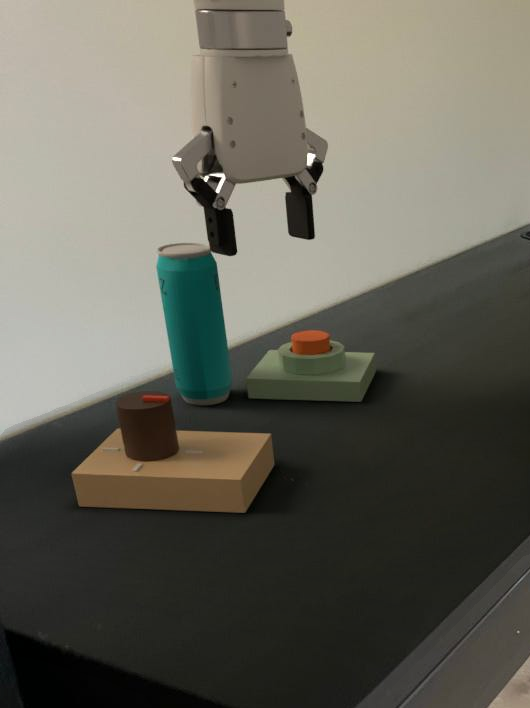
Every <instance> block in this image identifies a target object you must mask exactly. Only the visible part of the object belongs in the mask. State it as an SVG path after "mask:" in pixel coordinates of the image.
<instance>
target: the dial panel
mask: <svg viewBox="0 0 530 708" xmlns="http://www.w3.org/2000/svg"><path fill="white" fill-rule="evenodd" d="M176 432H177V438H178V444H179V451H178V452H177V453H176V454H174V455H173V456H170V457H168V458H165V459H160V460H154V461H138V460H133V459H130V458H128V457H127V456H126V454H125V449H124V444H123V439H122V434H121V429H120V428H116V429H115V430H114V431H113V432H112V433H111V434H110V435H109V436H108V437H107V438H106V439H105V440H104V441H103V442H102V443H101V444H100V445H99V446H98V447H96V449H94V450H93V452H92V453H90V454H89V456H88V457H86V458H85V459H84V460H83V461H82V462H81V464H79V465H78V466H77V467H76V468H75V469H74V470H73V471H72V472H71V479H72V482H73V487H74V490H75V494H76V495H75V496H76V499H77V504H78V507H83V508H105V509H106V508H107V509H130V510H131V509H133V510H158V511H159V510H160V511H161V510H162V511H181V512H182V511H185V512H212V513H215V512H216V513H238V514H244V513H247V511H248V509H249V507H250V506H251V504H252V503H253V501H254V499H255V498H256V496H257V494H258V493H259V491H260V490H261V488H262V486H263V485H264V483H265V482H266V480H267V478H268V477H269V474H270V473H271V472H272V470H273V469H274V467H275V457H274V447H273V439H272V433H264V432H263V433H261V432H233V431H232V432H231V431H229V432H228V431H203V430H202V431H199V430H176Z"/></svg>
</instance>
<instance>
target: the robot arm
mask: <svg viewBox="0 0 530 708" xmlns="http://www.w3.org/2000/svg"><path fill="white" fill-rule="evenodd" d="M193 5H194V9H195V10H194V13H195V21H196V30H197V39H198V46H199V54H193V55H192V60H191V68H190V90H189V91H190V92H189V95H190V119H191V122H190V123H191V135H192V136H191V137H192V139H191V140H190V141H189V142H188V143H187V144H185V145H184V146H183V147H182V148H181V149H180V150H178V151H177V152H176V154H174V155H173V157H172V158H171V162H172V165H173V167H174V169H175V171H176V172H177V174H178V176H179V178H180V180H181V181H183V187H184V189H185V190H186V191H187V192H188V193H189V194H190V195H191V196H192V197H193V198H194V199H195V201H196V204H197V205H198V206H199V207H202V208H203V214H204V220H205V229H206V230H205V231H206V236H207V242H208V245H209V246H210V250H211V253H212V254H213V253H214V254H218V255H223V256H227V257H233V256H234V257H235V256H236V255H237V254H238V245H237V237H236V228H235V227H236V226H235V220H234V212H233V210H232V208H228V207H227V205H228V203H229V200H230V198H231V196H232V194H233V191H234V189H235V187H236V185H241V184H242V185H243V184H250V183H258V182H264V181H271V180H278V179H282V181H283V182H284V184H285V185H286V187H288V190H289V191H286V192H285V195H284V200H285V211H286V213H285V214H286V223H287V232H288V235H289V236H290V237H291V238H297V239H302V240H307V241H312V240H315V237H316V232H315V229H316V228H315V216H314V204H313V196H314V195H316V194H317V191H318V185H317V184H318V182H319V181H320V179H321V177H322V176H323V173H324V165H323V164H324V163H325V160H326V156H327V152H328V148H329V143H328V141H327V140H326V139H324V138H323V137H321V136H320V135H318V134H317V133H316V132H314V131H312V130H310V129H309V128H308V127H307V124H306V118H305V111H304V109H305V108H304V104H303V97H302V91H301V85H300V82H299V77H298V72H297V67H296V64H295V60H294V57H293V54H292V53H289V44H288V38H290V37H291V36H292V34H293V25H292V23H291V21H290V20H288V19H286V11H285V0H193Z"/></svg>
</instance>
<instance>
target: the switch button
mask: <svg viewBox="0 0 530 708" xmlns="http://www.w3.org/2000/svg"><path fill="white" fill-rule="evenodd" d="M290 338H291V342H292V350H293V353H295V354H300V355H317V354H324V353H327V352H330V340H331V339H330V334H329V333H328V332H326V331H322V330H301V331H297V332H295V333H292V334H291V337H290Z"/></svg>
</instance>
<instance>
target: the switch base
mask: <svg viewBox="0 0 530 708" xmlns="http://www.w3.org/2000/svg"><path fill="white" fill-rule="evenodd" d="M376 364H377V363H376V353H375V352H360V351H358V352H357V351H346V347H345V345H344V344H342V343H341V342H339V341H335V340H331V339H330V352H327V353H324V354H317V355H300V354H295V353H293V350H292V341H290V342H287V343H284V344H281V345H280V347H279V348H278V349H269V350H268V351H267V353H266V354H265V355H264V356H263V357H262V358H261V360H260V361H259V362H258V363H257V364H256V365H255V367H254V368H253V369H252V371H251V372H250V373H249V374H248V376H247V377H246V378H245V381H246V390H247V397H248V399H252V400H257V399H258V400H287V401H317V402H318V401H319V402H347V403H349V402H350V403H361V402H362V401H363V399H364V397H365V395H366V393H367V391H368V389H369V386H370V384H371V383H372V381H373V380H374V379H373V378H374V376H375V375H376V372H377V368H376V367H377V366H376Z"/></svg>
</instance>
